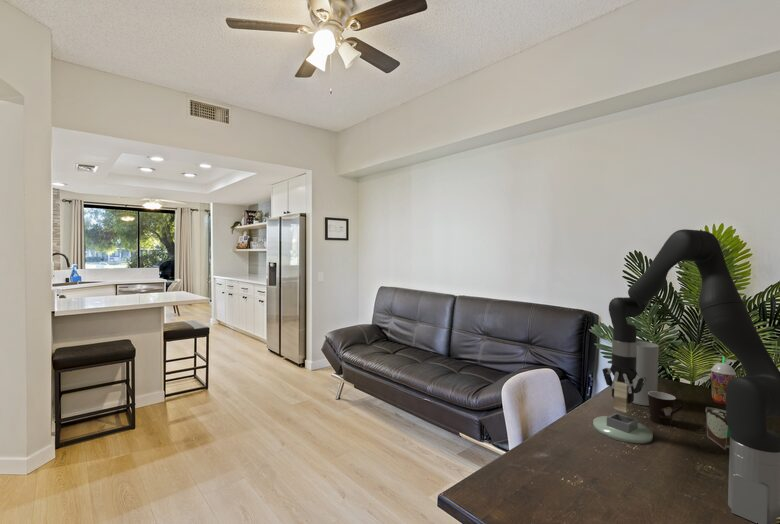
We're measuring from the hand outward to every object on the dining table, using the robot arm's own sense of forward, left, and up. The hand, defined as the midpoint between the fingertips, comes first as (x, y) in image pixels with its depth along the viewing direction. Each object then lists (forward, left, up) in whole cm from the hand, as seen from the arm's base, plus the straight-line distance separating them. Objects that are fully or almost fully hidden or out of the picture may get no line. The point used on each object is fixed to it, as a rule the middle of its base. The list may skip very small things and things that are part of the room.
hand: (622, 400), depth 133 cm
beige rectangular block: (0, 0, -3) cm, 3 cm away
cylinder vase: (+38, +9, -11) cm, 41 cm away
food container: (+20, -24, -11) cm, 33 cm away
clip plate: (0, 0, -11) cm, 11 cm away
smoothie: (+67, -12, -11) cm, 69 cm away
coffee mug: (+22, -6, -11) cm, 25 cm away
